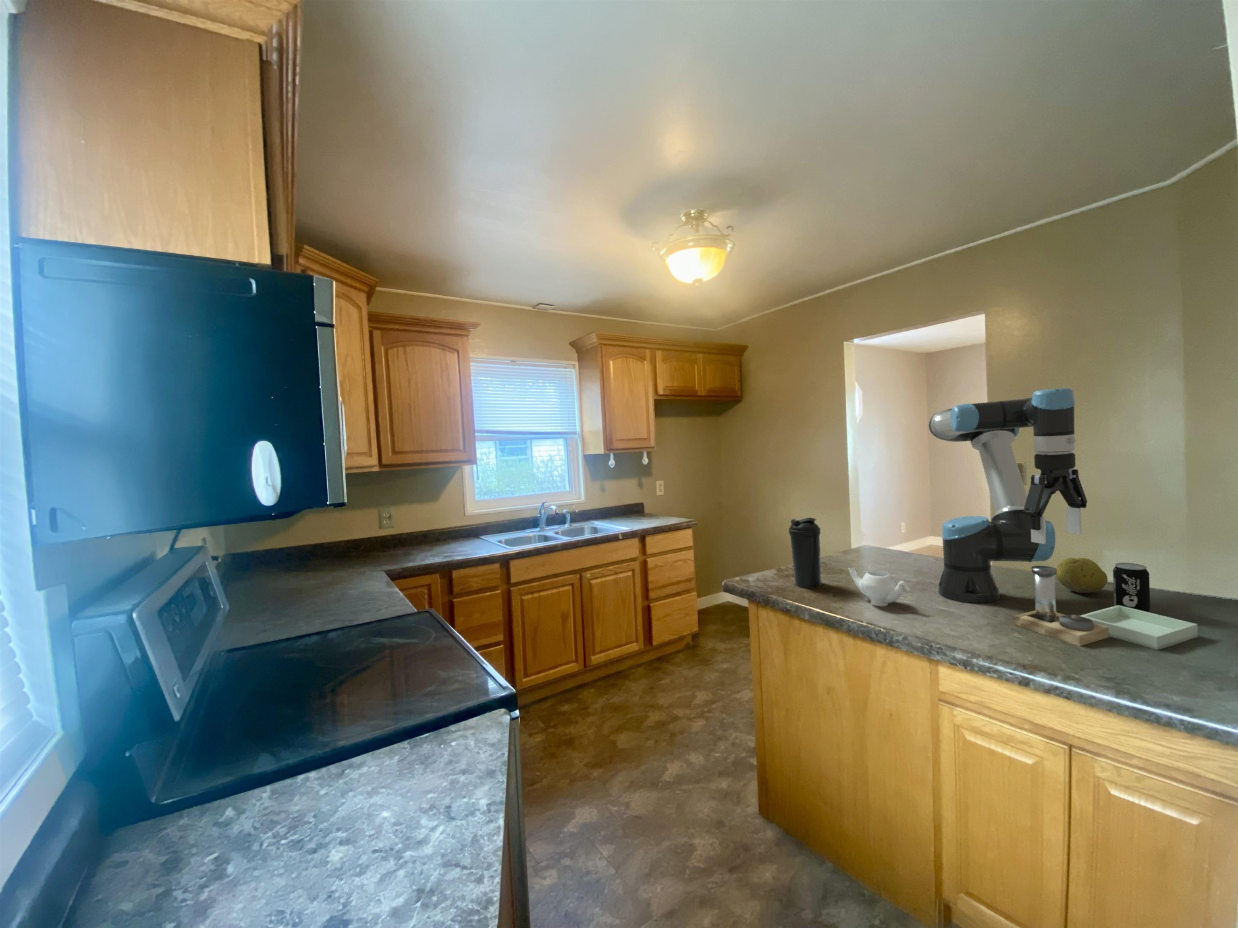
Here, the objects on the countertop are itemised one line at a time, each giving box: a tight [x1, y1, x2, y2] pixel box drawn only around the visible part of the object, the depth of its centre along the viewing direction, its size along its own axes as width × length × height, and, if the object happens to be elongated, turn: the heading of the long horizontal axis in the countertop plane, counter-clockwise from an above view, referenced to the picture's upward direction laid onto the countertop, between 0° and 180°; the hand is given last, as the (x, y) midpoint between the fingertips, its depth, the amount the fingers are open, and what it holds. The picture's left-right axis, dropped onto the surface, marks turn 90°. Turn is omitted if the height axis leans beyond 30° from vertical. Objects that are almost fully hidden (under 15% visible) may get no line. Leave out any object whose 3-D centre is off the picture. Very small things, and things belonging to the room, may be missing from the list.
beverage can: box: [1112, 562, 1151, 613], centre depth 129 cm, size 7×7×12 cm
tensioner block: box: [1014, 610, 1110, 647], centre depth 122 cm, size 14×10×5 cm
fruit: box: [1055, 557, 1108, 594], centre depth 144 cm, size 11×12×10 cm
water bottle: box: [788, 517, 822, 589], centre depth 172 cm, size 10×10×23 cm
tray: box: [1079, 605, 1199, 651], centre depth 118 cm, size 14×14×3 cm
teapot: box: [847, 566, 912, 607], centre depth 149 cm, size 10×20×9 cm, turn 28°
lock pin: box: [1031, 565, 1057, 623], centre depth 124 cm, size 5×5×15 cm
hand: (1056, 538), depth 122 cm, fingers open, 13 cm apart
